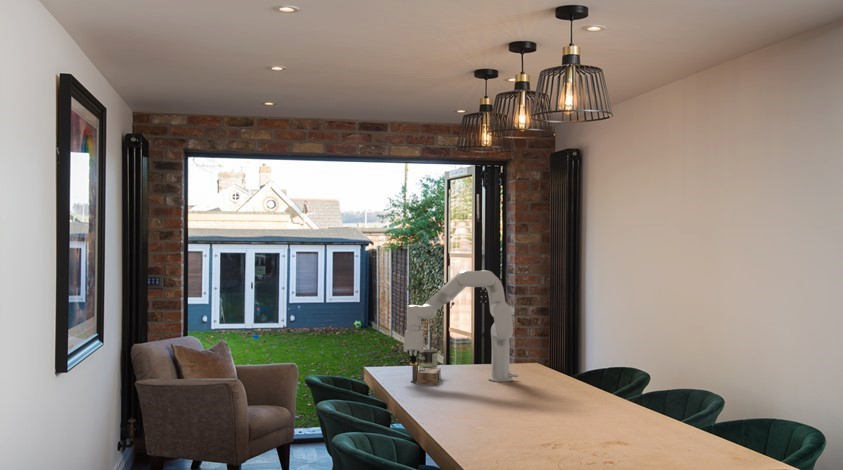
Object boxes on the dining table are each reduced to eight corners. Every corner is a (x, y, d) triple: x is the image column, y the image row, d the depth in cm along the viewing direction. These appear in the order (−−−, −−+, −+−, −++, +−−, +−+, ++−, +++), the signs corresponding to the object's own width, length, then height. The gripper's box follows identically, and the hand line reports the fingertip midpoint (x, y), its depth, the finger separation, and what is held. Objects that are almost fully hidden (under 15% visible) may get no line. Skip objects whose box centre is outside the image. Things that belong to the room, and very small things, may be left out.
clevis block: (440, 379, 426) (440, 362, 426) (436, 384, 408) (436, 367, 408) (414, 378, 428) (415, 361, 428) (409, 384, 410) (409, 366, 410)
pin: (440, 379, 419) (440, 372, 419) (439, 380, 415) (439, 373, 415) (418, 379, 420) (418, 371, 420) (417, 380, 416) (417, 372, 416)
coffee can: (423, 378, 430) (423, 352, 430) (415, 375, 439) (416, 349, 439) (440, 376, 434) (440, 351, 434) (432, 374, 444) (432, 349, 444)
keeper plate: (417, 373, 421) (417, 362, 421) (416, 375, 416) (416, 363, 416) (411, 373, 421) (411, 362, 422) (410, 375, 416) (410, 363, 417)
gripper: (428, 328, 422) (428, 362, 421) (401, 327, 424) (400, 361, 424) (426, 329, 414) (426, 364, 414) (398, 328, 417) (398, 363, 416)
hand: (413, 363), depth 419 cm, fingers closed
